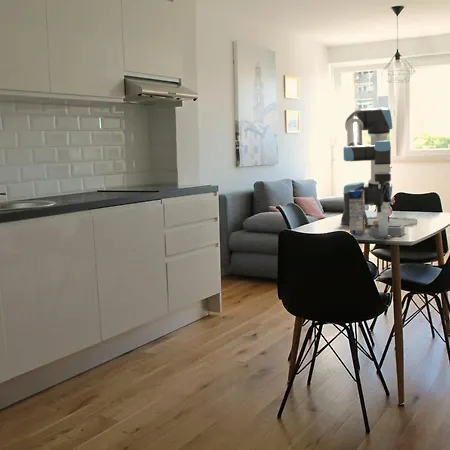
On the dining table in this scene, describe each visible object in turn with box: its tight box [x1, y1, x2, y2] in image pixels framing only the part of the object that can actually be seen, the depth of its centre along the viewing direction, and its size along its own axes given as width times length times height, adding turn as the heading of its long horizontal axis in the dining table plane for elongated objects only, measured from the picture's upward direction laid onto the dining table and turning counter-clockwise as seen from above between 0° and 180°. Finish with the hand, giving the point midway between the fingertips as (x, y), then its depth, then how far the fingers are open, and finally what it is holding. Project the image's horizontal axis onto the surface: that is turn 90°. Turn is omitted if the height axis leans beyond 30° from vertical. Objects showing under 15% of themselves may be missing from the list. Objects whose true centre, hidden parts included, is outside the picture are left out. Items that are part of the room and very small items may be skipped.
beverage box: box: [348, 190, 366, 236], centre depth 306 cm, size 7×11×22 cm, turn 163°
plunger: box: [372, 220, 378, 227], centre depth 301 cm, size 5×5×6 cm
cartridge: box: [377, 207, 389, 237], centre depth 288 cm, size 5×5×14 cm
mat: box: [372, 235, 394, 239], centre depth 289 cm, size 8×7×1 cm
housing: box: [369, 224, 405, 237], centre depth 299 cm, size 15×9×4 cm, turn 62°
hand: (383, 217), depth 288 cm, fingers open, 13 cm apart
